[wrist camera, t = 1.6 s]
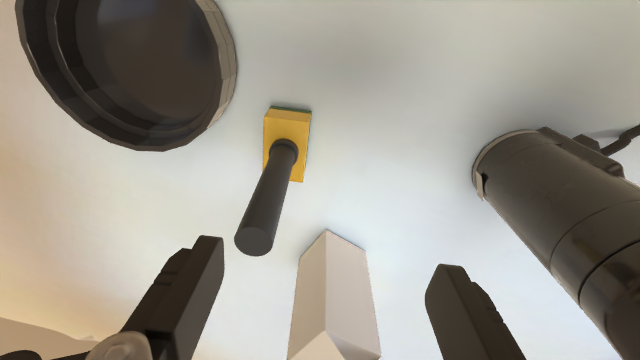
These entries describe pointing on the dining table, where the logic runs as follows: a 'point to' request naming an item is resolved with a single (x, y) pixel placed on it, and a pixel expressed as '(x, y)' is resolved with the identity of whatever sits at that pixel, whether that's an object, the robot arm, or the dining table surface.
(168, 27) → the bowl
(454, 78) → the dining table surface
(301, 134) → the sponge wand
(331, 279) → the milk carton
